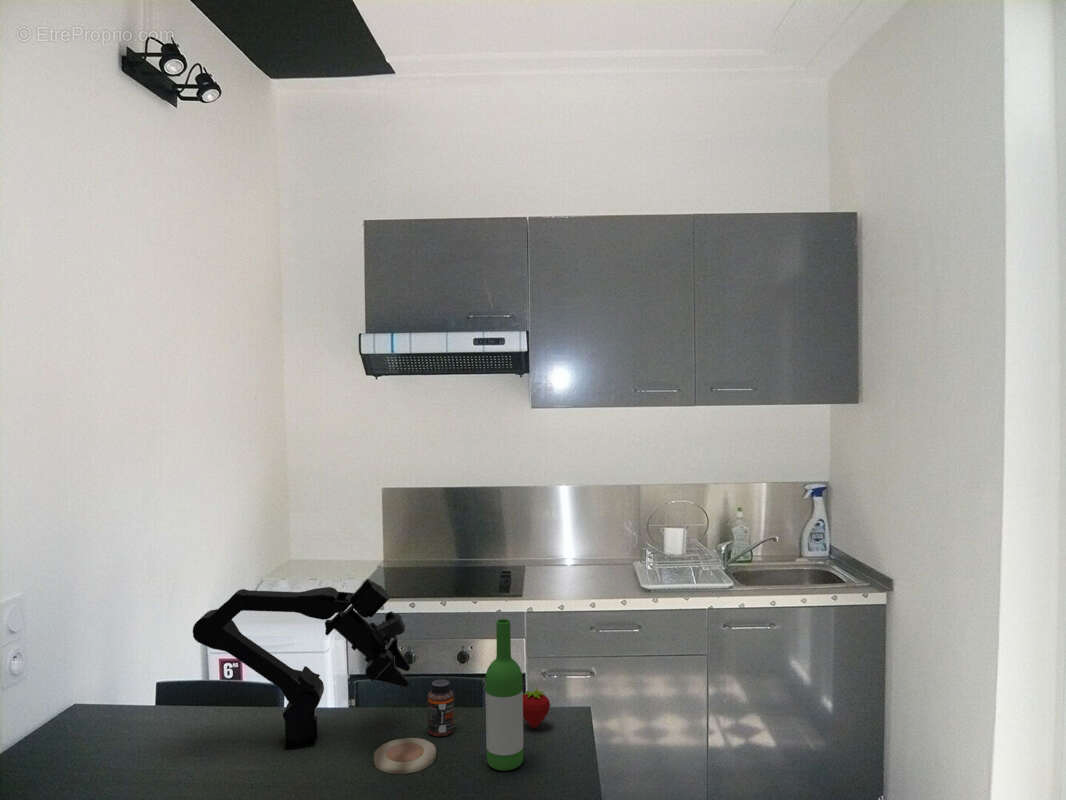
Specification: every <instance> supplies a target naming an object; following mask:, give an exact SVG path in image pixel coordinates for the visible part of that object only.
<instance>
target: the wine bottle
mask: <svg viewBox="0 0 1066 800" xmlns="http://www.w3.org/2000/svg"><path fill="white" fill-rule="evenodd" d="M495 626H496V657H495V658H494V660H492V662H491V663H490V664H489V666H488V667H487V670H486V672H485V728H486V729H485V730H486V731H485V733H486V734H485V737H486V739H485V740H486V741H485V742H486V744H485V746H486V762H487V764H488V766H489V767H491V768H492V769H495V770H497V771H512V770H514V769H517V768H518V767H520V766H521V765H522V763H523V760H524V718H523V695H524V694H523V693H524V691H523V690H524V689H523V672H522V670H521V669H522V668H521V667H520V665H519V664H518V662H517V661H516V660H514V659H513V658H512V652H511V651H512V648H511V645H512V644H511V643H512V640H511V639H512V638H511V637H512V636H511V620H510V619H508V618H499V619H497V620H496V625H495Z"/></svg>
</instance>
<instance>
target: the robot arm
mask: <svg viewBox="0 0 1066 800" xmlns="http://www.w3.org/2000/svg"><path fill="white" fill-rule="evenodd" d="M390 598H391V597H390V595H389V593H388V592H387V591H386V590H385V588H384V587H383V586H382V585H380V584H377V582H374V581H372V580H371V579H369V578H366V579H365V580H364V582H363V583H362V584H361V586H360V587H359V588H358V589H357V590H356V591H355V592H347V591H338V590H337V589H336V588H334V587H332V586H326V587H325V586H324V587H319V588H312V589H308V590H305V591H274V590H272V591H271V590H249V589H245V588H242V589H239V590H237V591H236V592H234V594H233V595H231V596H230V598H229V599H227V600H226V601H225V602H224V603H223V604H222V605H221V606H219V608H215V609H211V610H209V611H207V612H206V613H205V614H203V615H202V616H201V617H200V618H199V619H198V620H197V621H196V622H194V625H193V626H192V637H193V639H194V640H195V641H196V642H197V643H198V644H201V645H203V646H205V647H207V648H210V649H213V650H217V651H222V652H226V653H228V654H229V655H231V656H232V657H234V658H236V660H238V661H240V662H241V663H243V664H244V665H245V666H246V667H248V668H250V669H251V670H253V671H254V672H255V673H257V674H259V675H260V676H261V677H263V678H264V679H266V680H267V681H268V682H270V683H271V684H273V685H275V686H276V687H277V688H279V689H280V691H281V692H282V694H283V695H284V698H285V699H286V700H287V704H286V706H285V709H284V710H283V713H281V714H282V717H283V719H284V736H285V737H284V739H285V740H284V745H283V746H284V750H291V749H297V748H306V747H312V746H313V747H314V746H315V745H316V740H317V739H318V738H319V735H318V734H319V731H318V730H319V724H318V723H319V722H318V721H319V719H318V715H315V714H316V709H317V708H318V706H319V704H320V702H321V699H322V698H323V697H322V696H323V694H324V690H325V686H324V685H325V684H324V681H323V680H322V678H320V676H321V674H319V673H316V672H313V671H312V670H311V669H310V668H309V667H308V666H305V665H304V666H303V668H302V670H298V669H294V668H292V667H290V666H289V665H288V664H286V663H284V662H283V661H282V660H280V659H279V658H277V657H276V656H274V655H273V654H271V653H270V652H269V651H267V650H266V649H264V648H263V647H262V646H260V645H258V644H257V643H256V642H254V641H253V640H252V639H250V638H249V637H247V636H246V635H244V634H242V632H241V631H240V629H239V628H238V626H237V625H236V623H235V622H234V620H233V619H234V618H235V617H236V616H237V615H238V614H240V613H241V612H244V611H245V612H247V611H248V612H274V613H277V612H278V613H295V614H296V613H297V614H301V615H303V616H305V617H308V618H312V619H317V620H323V621H324V627H325V633H324V634H325V636H328V635H330V634H331V633H332V632H333V630H335V631H336V632H337V633H338V634H339V635H341V636H342V638H344V639H345V641H348V643H349V644H351V650H353V651H356V650H357V651H358V652H359V653H361V654H362V655H363V656H364V661H365V662H367V663H366V667H365V677H367V678H368V679H369V680H370V681H371V682H373V681H375V682H377V681H380V682H384V683H387V684H393V685H397V686H400V687H404V688H407V686H409V684H410V682H409V681H408V679H407V678H406V677H405V676H404V674H403V673H402V672H401V670H403V671H405V672H408V671H410V670H411V666H410V665H409V664H410V663H408V661H407V659H406V658H405V657H404V655H403V654H402V652H401V650H400V649H399V647H398V636H400V635H402V634H403V633H405V630H406V625H405V623H404V621H403V618H402V616H401V615H400V614H399V613H397V614H396V613H395V612H393V610H392V611H391V610H390V611H389V612H387V613H385V619H384V620H383V621H382V622H381V623H379V624H376V623H375V622H372V621H371V622H368V621H367V620H366V619H367V618H373V617H374V615H376V614H377V612H378V611H379V610H380V609H382V607H383V606H384V605H385V604H386V603H387V602H388V601H389V600H390ZM335 614H336V615H335ZM333 616H334V617H333ZM365 618H366V619H365Z"/></svg>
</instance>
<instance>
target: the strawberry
mask: <svg viewBox="0 0 1066 800" xmlns="http://www.w3.org/2000/svg"><path fill="white" fill-rule="evenodd" d="M534 686H535V689H534V690H533V691H528V690H525V691H524V692H523V720H525V721H526V722H527V723H528V724H529V726H530V728H532V729H536V728H538V727H539V725H540V724H541V723H542V722H543V721H544V720H545V718H546V717H547V716H548V714H549V711H550V707H551V703H550V699H549V698H548V697H547V696H546V694H544V693H545V692H544V691H541V690H539V688H537V684H536V683H534Z"/></svg>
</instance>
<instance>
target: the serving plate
mask: <svg viewBox="0 0 1066 800" xmlns="http://www.w3.org/2000/svg"><path fill="white" fill-rule="evenodd" d="M436 758H437V749H436V746H435V745H434V743H432V742H430V741H429V740H426V739H423V738H417V737H404V738H398V739H394V740H390V741H388V742H385V743H383V744H381V746H379V747H378V748H377V749H376V750H375V752H374V753H373V764H374V766H375V767H376V768H377V769H378V770H380V771H381V772H384V773H388V774H393V775H394V774H395V775H405V774H410V773H417V772H419V771H421V770H424V769H427V768H428V767H429V766H430V765H432V764H433V763H434V762H435V760H436Z"/></svg>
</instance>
